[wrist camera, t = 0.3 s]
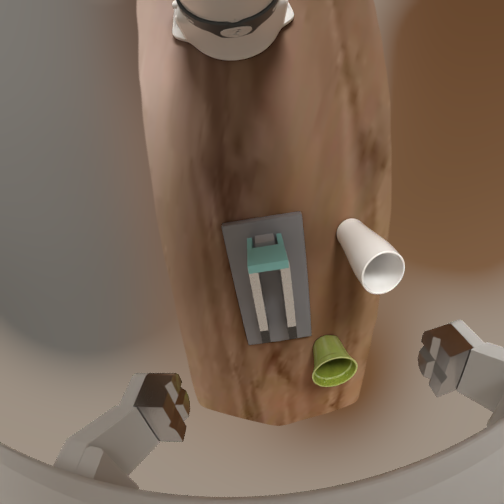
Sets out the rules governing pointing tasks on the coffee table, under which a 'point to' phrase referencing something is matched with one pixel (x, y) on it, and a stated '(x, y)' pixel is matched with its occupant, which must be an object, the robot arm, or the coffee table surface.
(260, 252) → the collar
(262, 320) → the jaw
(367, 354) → the coffee table surface
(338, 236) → the white cup
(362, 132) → the coffee table surface
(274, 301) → the plate
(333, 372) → the plant pot
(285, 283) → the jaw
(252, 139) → the coffee table surface
